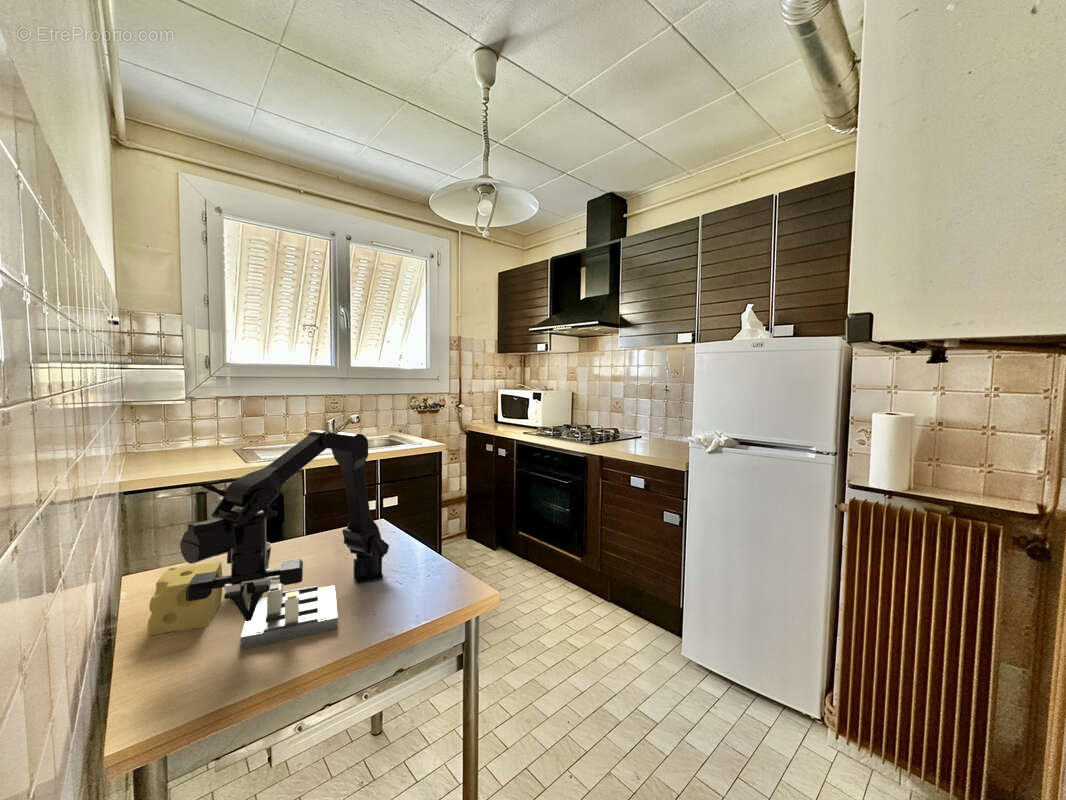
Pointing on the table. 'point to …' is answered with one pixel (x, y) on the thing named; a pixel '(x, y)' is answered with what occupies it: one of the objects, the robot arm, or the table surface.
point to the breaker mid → (274, 599)
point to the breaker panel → (313, 619)
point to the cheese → (182, 601)
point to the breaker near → (291, 607)
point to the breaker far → (277, 581)
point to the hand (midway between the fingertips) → (248, 620)
